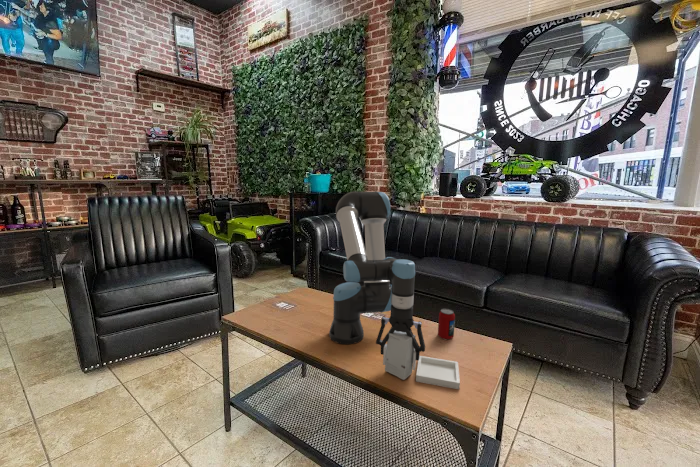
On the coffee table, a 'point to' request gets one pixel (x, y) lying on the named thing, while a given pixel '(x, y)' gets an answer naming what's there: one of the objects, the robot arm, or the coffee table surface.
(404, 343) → the skincare box
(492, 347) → the coffee table surface
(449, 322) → the beverage can
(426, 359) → the tray
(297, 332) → the coffee table surface
